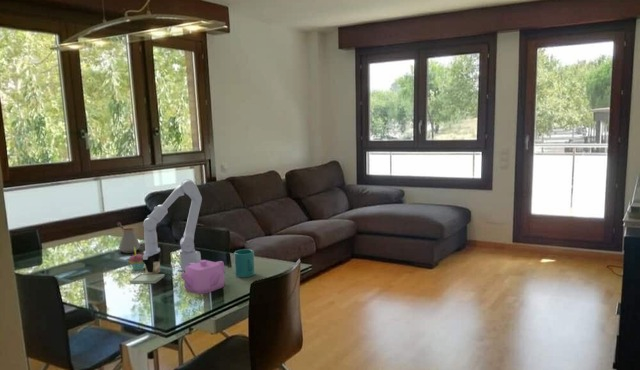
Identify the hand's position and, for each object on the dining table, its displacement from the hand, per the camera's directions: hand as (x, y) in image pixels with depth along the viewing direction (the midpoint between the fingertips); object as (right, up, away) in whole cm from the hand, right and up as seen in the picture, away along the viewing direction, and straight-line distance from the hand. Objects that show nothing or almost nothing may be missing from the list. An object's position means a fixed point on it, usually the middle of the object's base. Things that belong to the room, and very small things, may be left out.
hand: (152, 270), depth 228 cm
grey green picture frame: (+1, -3, -10) cm, 10 cm away
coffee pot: (-32, +3, +46) cm, 56 cm away
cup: (+47, -2, -7) cm, 47 cm away
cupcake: (-10, -1, +8) cm, 13 cm away
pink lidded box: (+31, -4, -24) cm, 39 cm away
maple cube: (0, -1, 0) cm, 1 cm away
